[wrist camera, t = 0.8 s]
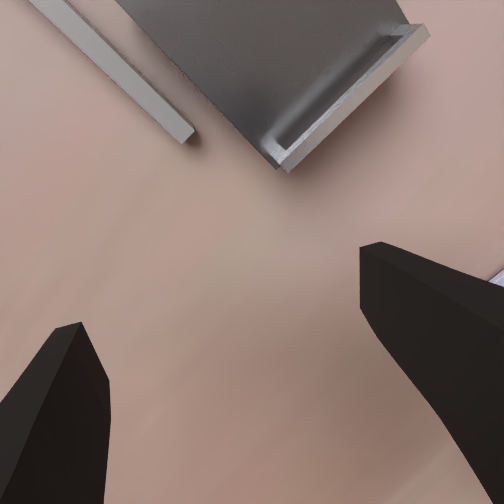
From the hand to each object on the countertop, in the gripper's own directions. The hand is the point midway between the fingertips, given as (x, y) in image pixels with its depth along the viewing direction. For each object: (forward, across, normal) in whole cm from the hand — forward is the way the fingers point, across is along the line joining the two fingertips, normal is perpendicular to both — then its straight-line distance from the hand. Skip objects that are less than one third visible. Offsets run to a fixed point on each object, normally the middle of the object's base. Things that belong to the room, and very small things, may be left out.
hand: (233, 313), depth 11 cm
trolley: (+10, -4, -6) cm, 12 cm away
